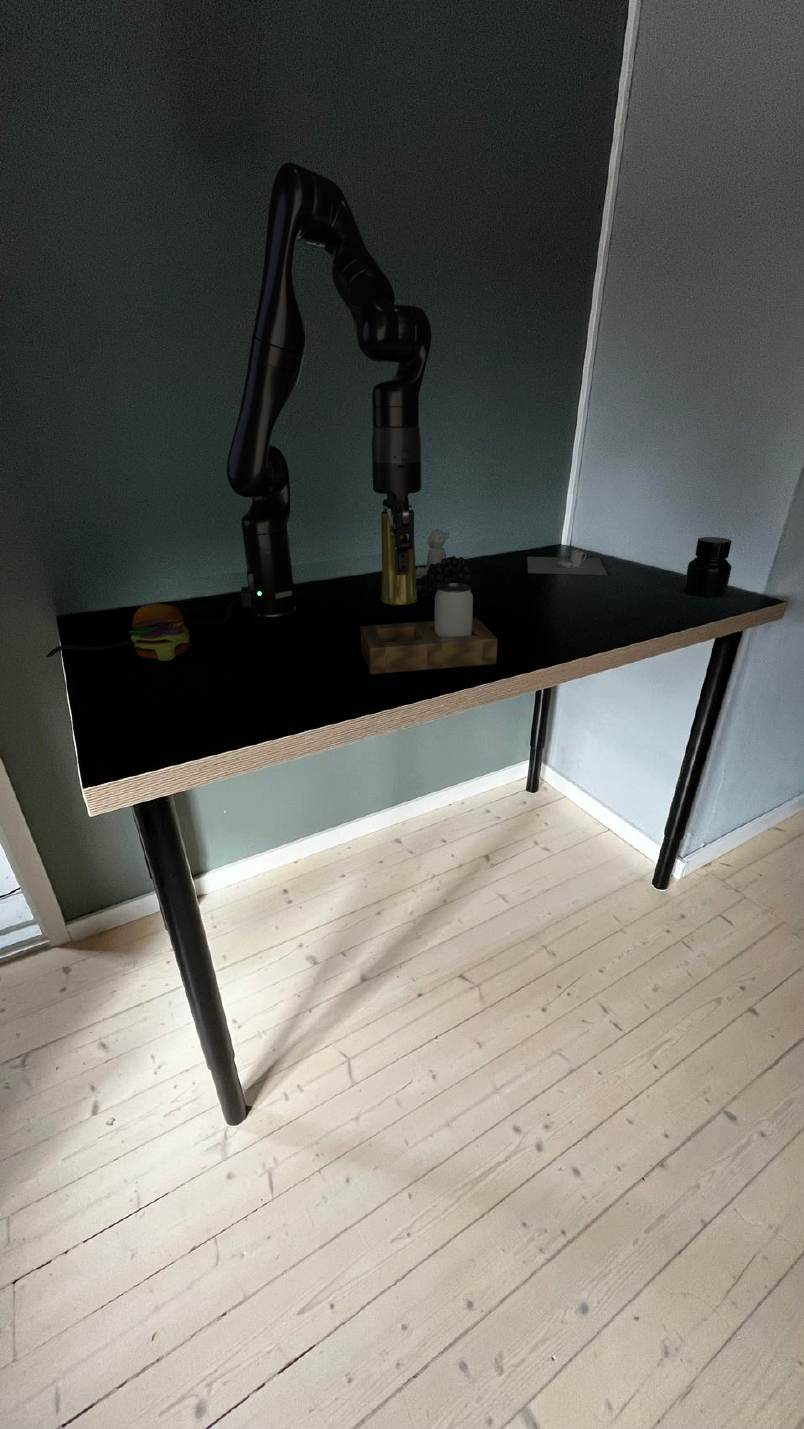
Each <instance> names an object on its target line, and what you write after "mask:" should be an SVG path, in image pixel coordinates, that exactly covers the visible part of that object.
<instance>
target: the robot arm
mask: <svg viewBox="0 0 804 1429" xmlns="http://www.w3.org/2000/svg"><path fill="white" fill-rule="evenodd" d="M265 235H266V236H265V247H264V258H263V269H262V277H261V283H260V289H259V290H260V291H259V297H258V303H257V309H256V313H255V314H256V315H255V319H254V325H253V329H252V335H251V340H250V348H249V354H248V361H247V369H246V374H245V380H244V386H243V391H242V397H241V403H240V408H239V414H238V417H237V421H236V425H235V429H234V432H233V437H232V440H231V443H230V447H229V450H228V455H227V459H226V476H227V477H226V478H227V481H228V484H229V486H230V488H231V489H232V490H233V492H234V493H235V494H236V495H238V496H239V497H241V498H251V505H250V507H249V509H248V510H247V511H246V512H245V513H244V514H243V515H242V517H241V520H240V523H241V531H242V541H243V548H244V556H245V557H244V558H245V565H246V582H247V586H241V588H240V596H238V597H237V598H236V599H234V600H233V601H231V602H230V603H229V604H228V606H227V608H226V613H225V614H226V616H225V617H224V618H223V619H221V620H219V621H216V622H208V621H207V622H206V621H200V620H184V621H183V623H184V626H186V625H193V626H194V625H195V626H199V625H203V626H205V625H222V624H225V623H227V622H228V621H230V618H231V611H232V608H233V607H234V606H235V605H236V604H238V603H240V602H241V607H242V609H248V608H250V614H251V618H252V619H265V620H274V619H275V620H276V619H283V618H287V617H290V616H292V615H295V614H296V613H297V605H296V598H295V586H294V576H293V565H292V564H293V563H292V553H291V542H290V531H289V520H290V516H291V513H292V502H291V501H292V499H291V478H290V470H289V469H290V468H289V465H288V460H287V459H286V457H285V455H284V453H283V452H282V450H281V449H280V448H279V447H277V446H275V445H273V444H271V439H272V435H273V431H274V428H275V426H276V423H277V421H278V419H279V417H280V416H281V414H282V412H283V411H284V409H285V407H286V406H287V404H288V403H289V401H290V400H291V398H292V396H293V394H294V392H295V390H296V388H297V386H298V384H299V381H300V378H301V374H302V369H303V365H304V361H305V355H306V351H307V344H308V343H307V342H308V339H307V330H306V325H305V322H304V321H305V320H304V317H303V314H302V310H301V307H300V303H299V300H298V296H297V292H296V287H295V280H294V258H295V248H296V243H300V244H303V245H305V246H308V247H311V248H314V249H321V250H322V251H324V252H325V253H327V254H328V255H329V256H330V257H331V258H332V263H331V278H332V282H333V286H334V288H335V290H336V292H337V294H338V296H339V298H340V299H341V301H342V302H343V304H344V305H345V307H346V309H347V311H348V312H349V313H350V316H351V320H352V324H353V328H354V332H355V337H356V338H355V339H356V343H357V346H358V349H359V351H360V352H361V354H363V355H364V356H365V357H366V358H367V359H368V360H370V361H372V362H376V363H398V365H397V369H396V372H395V375H394V376H393V378H392V379H389V380H385V381H381V382H378V383H376V384H375V385H374V386H373V388H372V392H371V414H372V415H371V418H372V419H371V420H372V421H371V422H372V435H371V465H372V466H371V470H372V472H371V475H372V490H373V491H374V493H377V494H380V495H386V498H384V499H382V512H383V511H384V514H387V516H388V517H389V532H390V536H391V537H393V542H394V546H393V548H394V555H395V573H396V574H397V575H407V574H408V573H409V550H410V549H412V548H413V525H414V526H415V511H414V509H413V505H411V504H410V502H409V495H410V494H416V493H419V492H421V490H422V436H421V428H420V406H421V405H420V398H421V397H420V396H421V392H422V386H423V382H424V377H425V373H426V368H427V364H428V360H429V357H430V352H431V347H432V339H433V330H432V325H431V321H430V319H429V316H428V315H427V312H426V311H425V310H424V309H423V308H422V307H420V306H417V305H407V304H396V294H395V289H394V287H393V285H392V283H391V281H390V279H389V278H388V277H387V274H385V271H383V269H382V268H381V267H380V265H379V263H378V262H377V261H376V260H375V257H373V255H372V254H371V252H370V251H369V249H368V247H367V245H366V243H365V241H364V238H363V236H362V233H361V231H360V228H359V226H358V224H357V221H356V220H355V217H354V214H353V211H352V209H351V207H350V204H349V202H348V200H347V197H346V196H345V194H344V192H343V190H342V189H341V187H340V186H339V185H338V184H337V183H336V182H334V181H333V180H331V179H330V178H328V177H326V176H323V175H321V174H319V173H317V172H314V171H312V170H310V169H308V168H306V167H303V166H302V165H300V164H297V163H294V162H290V161H288V162H284V163H283V164H282V165H281V166H280V167H279V168H278V170H277V172H276V175H275V177H274V180H273V184H272V187H271V193H270V198H269V203H268V214H267V225H266V234H265ZM392 514H393V516H392ZM393 520H394V524H395V525H396V530H395V529H394V526H393ZM403 535H404V536H405V538H406V541H400V536H403ZM132 644H135V642H133V641H132V639H131V638H130V639H128V640H125V641H120V642H116V643H111V644H105V645H99V646H88V645H87V646H86V645H77V644H62V645H59V646H57V647H55V648H52V650H50V651H49V652H48V654H46V658H50V657H53V656H54V655H55V654H56V653H58V652H60V651H64V650H74V651H75V650H76V651H85V652H100V651H106V650H111V649H116V648H121V647H124V646H129V645H132Z"/></svg>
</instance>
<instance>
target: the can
mask: <svg viewBox="0 0 804 1429" xmlns="http://www.w3.org/2000/svg"><path fill="white" fill-rule="evenodd" d="M471 588H472V587H471V586H470V584H469V585H466V584H460V583H447V584H442V585H439V586H438V591H437V593H436V594H435V595H434V621H435V634H436V636H437V637H438V638H449V637H462V636H472V618H473V616H474V615H473V614H474V613H473V612H474V611H473V610H474V595H473V593H472V590H471Z"/></svg>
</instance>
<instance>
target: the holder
mask: <svg viewBox="0 0 804 1429" xmlns="http://www.w3.org/2000/svg"><path fill="white" fill-rule="evenodd" d="M359 628H360V630H359V631H360V650H361V652H362V655H363V658H364V660H365V663H366V666H367V668H368V672H369V674H370V675H378V674H392V673H402V672H413V671H414V672H415V671H416V672H417V671H426V670H427V671H429V670H437V669H439V670H440V669H449V668H450V669H453V668H465V667H475V666H486V665H487V666H488V665H489V666H490V665H497V657H498V638H497V637H496V636H495V634H494V633H492V631H490V629H489V628H488V627H487V626H486V625H485V624H484V623H483V622H482V621H481V620H480V619H479V618H477V617H472V636H462V637H449V638H438V637H437V636H436V634H435V620H428V621H427V620H426V621H414V622H413V621H412V622H400V623H385V624H373V625H361V626H359Z"/></svg>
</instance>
